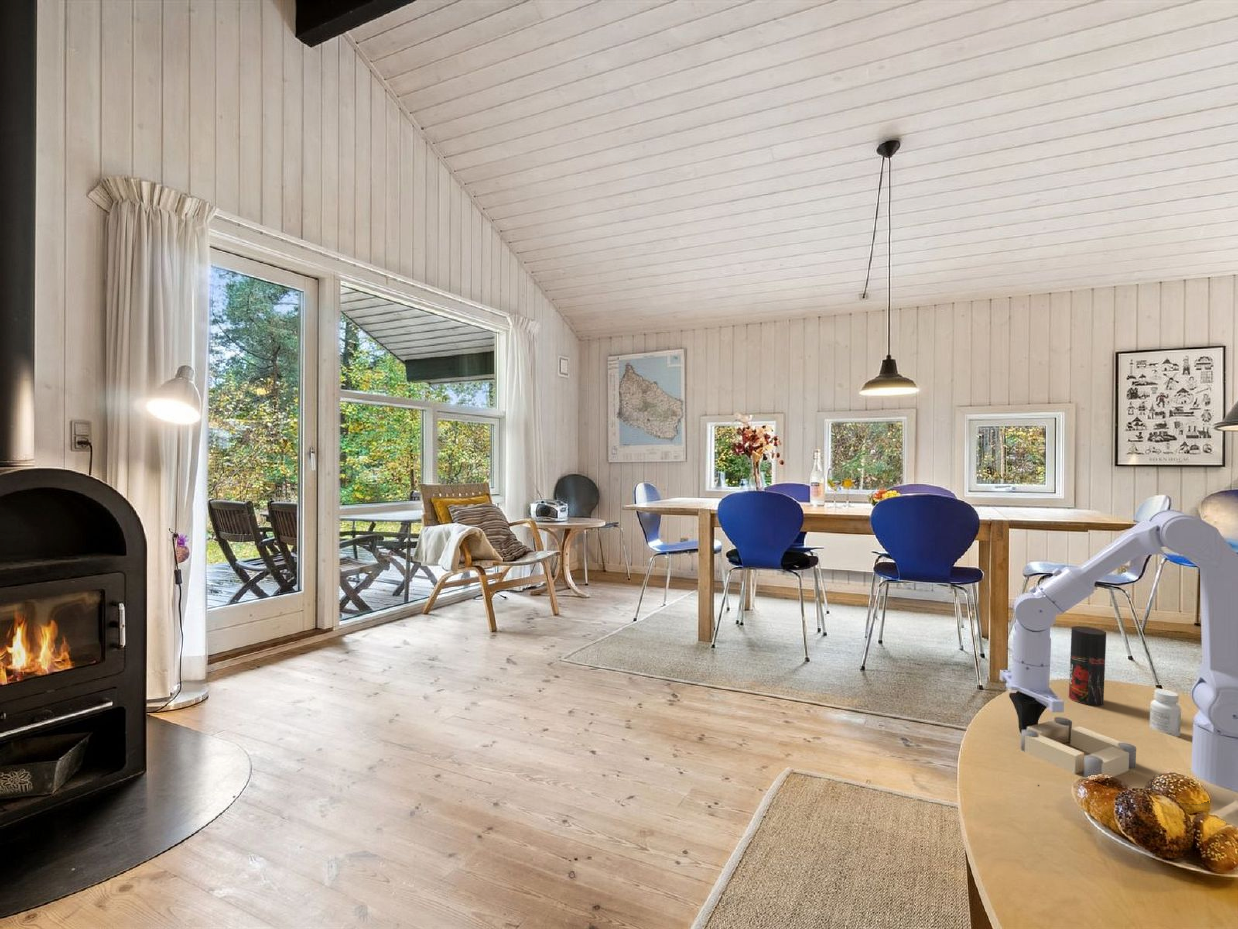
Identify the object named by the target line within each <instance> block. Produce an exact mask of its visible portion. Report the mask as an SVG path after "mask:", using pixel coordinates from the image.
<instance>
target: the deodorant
mask: <svg viewBox="0 0 1238 929" xmlns="http://www.w3.org/2000/svg"><path fill="white" fill-rule="evenodd" d="M1070 632H1071V634H1070V635H1071V636H1070V659H1069V661H1070V662H1069V683H1068V684H1069V685H1068V686H1069V687H1068V688H1069V689H1068V698H1069V699H1070V700H1072V701H1074V702H1076V703H1079V704H1082V705H1087V706H1094V707H1095V706H1096V707H1100V706H1103V705H1104V699H1105V674H1106V655H1107V654H1106V651H1107V631H1105V630H1103V629H1099V628H1095V627H1090V626H1082V625H1075V626H1072V627H1071V631H1070Z"/></svg>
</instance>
